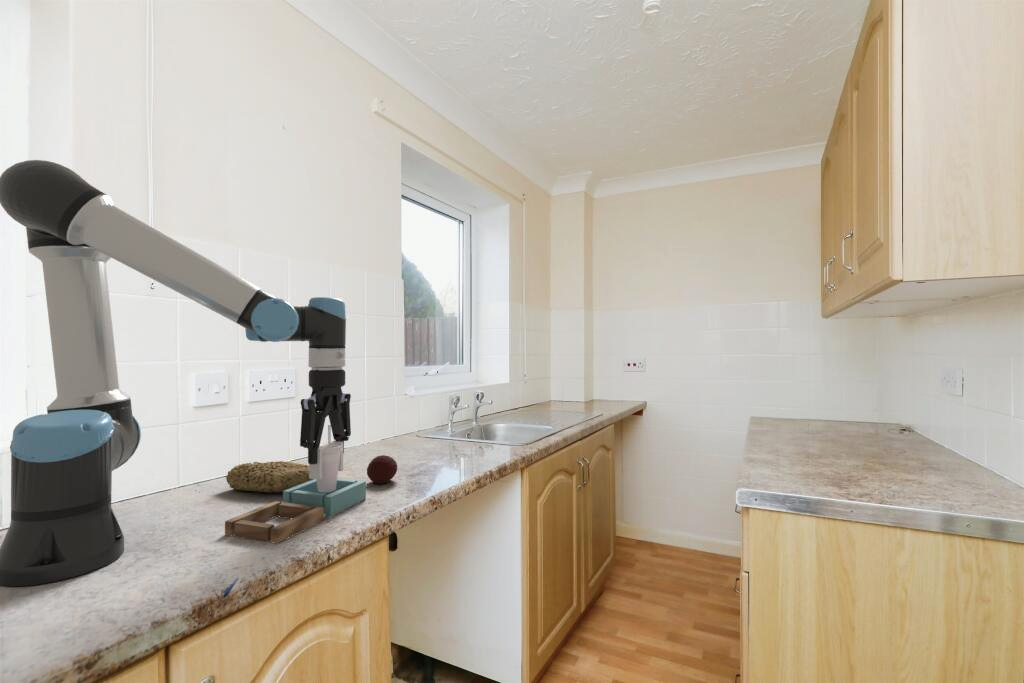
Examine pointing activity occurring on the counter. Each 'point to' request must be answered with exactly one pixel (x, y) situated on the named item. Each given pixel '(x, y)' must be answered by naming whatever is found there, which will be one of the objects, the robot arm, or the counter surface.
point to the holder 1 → (254, 529)
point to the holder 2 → (327, 495)
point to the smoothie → (329, 464)
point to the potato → (382, 469)
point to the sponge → (268, 476)
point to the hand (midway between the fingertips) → (326, 474)
